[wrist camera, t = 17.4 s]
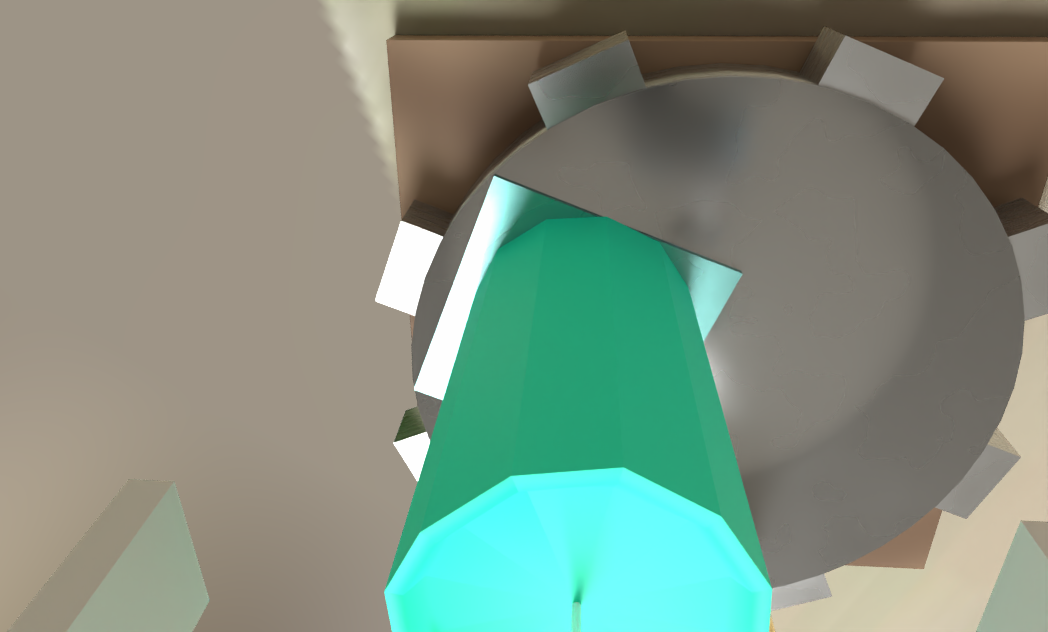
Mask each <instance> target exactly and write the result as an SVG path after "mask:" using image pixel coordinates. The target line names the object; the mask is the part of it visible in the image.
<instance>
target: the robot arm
mask: <svg viewBox="0 0 1048 632" xmlns="http://www.w3.org/2000/svg"><path fill="white" fill-rule="evenodd" d="M208 602H209V597H208V594H207V590H206V587H205V584H204V580H203V577H202V574H201V570H200V567H199V563H198V560H197V556H196V553H195V550H194V547H193V543H192V540H191V536H190V533H189V529H188V526H187V523H186V520H185V516H184V512H183V509H182V506H181V502H180V499H179V495H178V492H177V489H176V485H175V482H174V481H158V480H157V481H156V480H137V479H129V480H128V481H127V482H126V484H125V485H124V486H123V487H122V489H121V490H120V491H119V492H118V494H117V495H116V496H115V497H114V498H113V500H112V501H111V502H110V503H109V505H108V506H107V507H106V508H105V510H104V511H103V512H102V513H101V515H100V516H99V517H98V518H97V520H96V521H95V522H94V523H93V525H92V526H91V527H90V528H89V530H88V531H87V532H86V533H85V535H84V536H83V537H82V538H81V540H80V541H79V542H78V544H77V545H76V546H75V547H74V548H73V550H72V551H71V552H70V554H69V555H68V556H67V557H66V558H65V560H64V561H63V562H62V563H61V565H60V566H59V567H58V568H57V570H56V571H55V572H54V574H53V575H52V576H51V577H50V578H49V580H48V581H47V583H45V585H44V586H43V587H42V588H41V590H40V591H39V592H38V594H37V595H36V596H35V597H34V599H33V600H32V601H31V602H30V604H29V605H28V606H27V607H26V609H25V610H24V611H23V612H22V614H21V615H20V616H19V617H18V619H17V620H16V621H15V622H14V624H13V625H12V626H11V627H10V629H9V630H8V631H7V632H193V630H194V628H195V626H196V624H197V622H198V620H199V619H200V617H201V615H202V613H203V611H204V610H205V607H206V606H207V604H208ZM976 632H1048V522H1040V521H1021V522H1020V524H1019V527H1018V529H1017V532H1016V534H1015V537H1014V539H1013V541H1012V544H1011V546H1010V549H1009V551H1008V554H1007V556H1006V559H1005V561H1004V564H1003V566H1002V569H1001V571H1000V574H999V576H998V579H997V581H996V584H995V586H994V588H993V591H992V593H991V596H990V598H989V601H988V603H987V606H986V608H985V611H984V613H983V616H982V618H981V621H980V623H979V626H978V628H977V631H976Z"/></svg>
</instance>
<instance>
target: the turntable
mask: <svg viewBox="0 0 1048 632" xmlns="http://www.w3.org/2000/svg"><path fill="white" fill-rule="evenodd" d="M943 80H944V78H942V77H940V76H938V75H936V74H933V73H931V72H929V71H926V70H924V69H922V68H919V67H917V66H915V65H913V64H910V63H908V62H906V61H903V60H901V59H899V58H896V57H894V56H892V55H890V54H887V53H885V52H883V51H880V50H878V49H876V48H873V47H871V46H869V45H867V44H864V43H862V42H860V41H857V40H855V39H853V38H850V37H848V36H846V35H844V34H841V33H839V32H837V31H834V30H832V29H830V28H827V27H825V26H824V27H823V29H822V31H821V32H820V34H819V36H818V38H817V40H816V42H815V44H814V45H813V47H812V49H811V51H810V53H809V55H808V57H807V58H806V60H805V62H804V64H803V66H802V68H801V70H800V71H799V72H796V71H791V70H786V69H780V68H775V67H770V66H765V65H749V64H729V63H715V64H703V65H691V66H679V67H673V68H668V69H664V70H659V71H654V72H650V73H645V74H641V72H640V69H639V66H638V63H637V61H636V58H635V55H634V52H633V50H632V47H631V44H630V42H629V39H628V36H627V33H626V31H622V32H620V33H618V34H616V35H613V36H611V37H609V38H607V39H605V40H602V41H600V42H598V43H596V44H593V45H591V46H589V47H587V48H585V49H582V50H580V51H578V52H576V53H573V54H571V55H569V56H567V57H565V58H562V59H560V60H558V61H556V62H553V63H551V64H549V65H547V66H545V67H542V68H540V69H538V70H536V71H534V72H532V75H531V78H530V80H529V83H528V86H529V89H530V91H531V93H532V96H533V98H534V100H535V103H536V105H537V107H538V109H539V112H540V114H541V116H542V120H541V121H539V122H538V123H536V124H535V125H534V126H532V127H531V128H529V129H528V130H526V131H525V132H523V133H522V134H521V135H520V136H519V137H518V138H517V139H516V140H515V141H514V142H512V143H511V144H510V145H509V146H508V147H507V148H506V149H505V150H504V151H503V152H501V153H500V154H499V155H498V156H497V157H496V158H495V159H494V160H493V161H492V162H491V164H490V165H489V166H488V167H487V168H486V170H485V171H484V172H483V173H482V174H481V176H480V177H479V178H478V179H477V180H476V182H475V183H474V184H473V185H472V186H471V188H470V189H469V191H468V192H467V194H466V196H465V197H464V199H463V200H462V202H461V204H460V205H459V207H458V208H457V210H456V212H455V213H454V214H452V213H449V212H446V211H444V210H441V209H439V208H436V207H433V206H431V205H428V204H426V203H423V202H420V201H418V200H415V199H414V201H413V202H412V204H411V206H410V207H409V209H408V210H407V212H406V214H405V215H404V217H403V218H402V220H401V222H400V225H399V229H398V232H397V235H396V238H395V241H394V244H393V247H392V250H391V253H390V257H389V259H388V263H387V266H386V269H385V272H384V275H383V278H382V281H381V284H380V288H379V290H378V293H377V296H376V300H375V301H376V302H379V303H382V304H385V305H387V306H390V307H393V308H395V309H398V310H401V311H403V312H406V313H409V314H412V315H414V316H415V320H414V328H413V337H412V371H413V382H414V387H415V388H414V390H415V393H416V398H417V404H418V406H417V407H414V408H411V409H409V410H406V411H405V414H404V416H403V419H402V422H401V425H400V427H399V430H398V433H397V435H396V438H395V441H394V445H395V446H396V448H397V449H398V451H399V453H400V454H401V456H402V457H403V459H404V460H405V462H406V464H407V465H408V467H409V469H410V470H411V472H412V473H413V475H414V477H415V478H416V480H417V481H418V479H419V476H420V473H421V469H422V466H423V463H424V460H425V456H426V453H427V450H428V446H429V443H430V440H431V437H432V433H433V430H434V427H435V423H436V420H437V417H438V414H439V410H440V407H441V404H442V400H443V397H444V394H445V391H446V387H447V384H448V381H449V377H450V374H451V371H452V367H453V364H454V361H455V358H456V354H457V351H458V348H459V344H460V341H461V338H462V335H463V331H464V328H465V325H466V321H467V318H468V315H469V312H470V308H471V305H472V302H473V298H474V295H475V293H476V291H477V289H478V287H479V286H480V284H481V282H482V280H483V278H484V276H485V274H486V272H487V270H488V268H489V266H490V264H491V262H492V260H493V258H494V256H495V254H496V252H497V250H498V249H499V248H501V247H502V246H504V245H505V244H507V243H509V242H510V241H512V240H514V239H515V238H517V237H518V236H520V235H522V234H523V233H525V232H527V231H528V230H530V229H531V228H533V227H535V226H536V225H538V224H540V223H541V222H543V221H544V220H546V219H562V218H584V217H606V216H607V217H609V218H611V219H613V220H615V221H617V222H619V223H621V224H623V225H625V226H627V227H629V228H631V229H633V230H635V231H637V232H639V233H641V234H643V235H645V236H647V237H650V238H652V239H654V240H656V241H658V242H660V244H661V246H662V247H663V249H664V250H665V252H666V253H667V255H668V257H669V258H670V260H671V261H672V263H673V264H674V266H675V268H676V269H677V271H678V272H679V274H680V275H681V277H682V279H683V280H684V282H685V283H686V285H687V286H688V288H689V291H690V295H691V299H692V302H693V306H694V309H695V313H696V317H697V320H698V324H699V327H700V331H701V335H702V338H703V342H704V345H705V349H706V353H707V356H708V360H709V363H710V367H711V371H712V374H713V378H714V381H715V385H716V389H717V392H718V396H719V399H720V403H721V407H722V410H723V414H724V417H725V421H726V425H727V428H728V432H729V435H730V439H731V442H732V446H733V450H734V453H735V457H736V460H737V464H738V468H739V471H740V475H741V478H742V482H743V486H744V489H745V493H746V496H747V500H748V504H749V507H750V511H751V514H752V518H753V522H754V525H755V529H756V532H757V536H758V540H759V543H760V547H761V550H762V554H763V558H764V561H765V565H766V568H767V572H768V576H769V579H770V583H771V586H772V598H771V611H773V610H777V609H781V608H785V607H790V606H794V605H798V604H802V603H806V602H811V601H815V600H819V599H823V598H827V597H831V596H832V595H831V592H830V589H829V586H828V584H827V581H826V578H825V575H824V573H826V572H829V571H831V570H834V569H836V568H839V567H841V566H844V565H846V564H849V563H851V562H853V561H855V560H857V559H859V558H860V557H862V556H864V555H866V554H868V553H870V552H872V551H874V550H876V549H878V548H880V547H881V546H883V545H884V544H886V543H888V542H889V541H891V540H892V539H894V538H895V537H897V536H898V535H900V534H901V533H903V532H904V531H906V530H907V529H909V528H910V527H912V526H913V525H914V524H915V523H916V522H918V521H919V520H920V519H921V518H922V517H924V516H925V515H926V514H927V513H928V512H930V511H931V510H932V509H933V508H934V507H935V508H938V509H941V510H943V511H946V512H949V513H951V514H954V515H957V516H960V517H962V518H965V519H967V518H968V516H969V515H970V514H971V513H972V512H973V511H974V510H975V509H976V507H977V506H978V505H979V504H980V503H981V502H982V501H983V499H984V498H985V497H986V496H987V495H988V494H989V493H990V492H991V490H992V489H993V488H994V487H995V486H996V485H997V484H998V483H999V481H1000V480H1001V479H1002V478H1003V477H1004V476H1005V475H1006V473H1007V472H1008V471H1009V470H1010V469H1011V468H1012V467H1013V466H1014V464H1015V463H1016V462H1017V461H1018V460H1019V459H1020V458H1021V457H1020V455H1019V454H1018V453H1017V452H1016V450H1015V449H1014V448H1013V447H1012V445H1011V444H1010V443H1009V442H1008V441H1007V439H1006V438H1005V437H1004V436H1003V434H1002V433H1001V432H1000V431H999V429H998V428H997V426H998V425H999V423H1000V421H1001V419H1002V417H1003V414H1004V411H1005V409H1006V406H1007V404H1008V401H1009V399H1010V396H1011V394H1012V391H1013V389H1014V385H1015V381H1016V377H1017V373H1018V368H1019V364H1020V360H1021V355H1022V347H1023V333H1024V321H1025V320H1029V319H1032V318H1035V317H1038V316H1042V315H1045V314H1048V213H1046V212H1044V211H1043V210H1041V209H1040V208H1038V207H1037V206H1035V205H1033V204H1032V203H1030V202H1029V201H1027V200H1025V199H1024V198H1019V199H1016V200H1013V201H1010V202H1007V203H1004V204H1001V205H998V206H995V207H993V206H992V205H991V203H990V202H989V200H988V199H987V197H986V196H985V195H984V193H983V192H982V190H981V189H980V187H979V186H978V185H977V183H976V182H975V180H974V179H973V177H972V176H971V175H970V174H969V173H968V172H967V171H966V170H965V169H964V168H963V167H962V166H961V165H960V164H959V163H958V162H957V161H956V160H955V159H954V158H953V157H952V156H951V155H950V154H949V153H948V152H947V151H946V150H945V149H944V148H943V147H941V146H940V145H939V144H937V143H936V142H935V141H933V140H932V139H930V138H929V137H928V136H926V135H925V134H924V133H922V132H921V131H920V130H918V129H917V128H915V127H914V126H915V124H916V123H917V121H918V120H919V118H920V116H921V115H922V113H923V112H924V110H925V109H926V107H927V105H928V104H929V102H930V101H931V99H932V97H933V96H934V94H935V93H936V91H937V89H938V88H939V86H940V85H941V83H942V82H943ZM769 632H775V629H774V625H773V621H772V618H771V614H770V625H769Z"/></svg>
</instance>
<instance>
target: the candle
mask: <svg viewBox="0 0 1048 632" xmlns="http://www.w3.org/2000/svg"><path fill="white" fill-rule="evenodd" d="M384 592H385V598H386V603H387V608H388V613H389V618H390V624H391V629H392V632H769V625H770V612H771V598H772V586H771V583H770V579H769V576H768V572H767V568H766V565H765V561H764V558H763V554H762V550H761V547H760V543H759V540H758V536H757V532H756V529H755V525H754V522H753V518H752V514H751V511H750V507H749V504H748V500H747V496H746V493H745V489H744V486H743V482H742V478H741V475H740V471H739V468H738V464H737V460H736V457H735V453H734V450H733V446H732V442H731V439H730V435H729V432H728V428H727V425H726V421H725V417H724V414H723V410H722V407H721V403H720V399H719V396H718V392H717V389H716V385H715V381H714V378H713V374H712V371H711V367H710V363H709V360H708V356H707V353H706V349H705V345H704V342H703V338H702V335H701V331H700V327H699V324H698V320H697V317H696V313H695V309H694V306H693V302H692V299H691V295H690V291H689V288H688V286H687V285H686V283H685V282H684V280H683V279H682V277H681V275H680V274H679V272H678V271H677V269H676V268H675V266H674V264H673V263H672V261H671V260H670V258H669V257H668V255H667V253H666V252H665V250H664V249H663V247H662V246H661V244H660V242H658V241H656V240H654V239H652V238H650V237H647V236H645V235H643V234H641V233H639V232H637V231H635V230H633V229H631V228H629V227H627V226H625V225H623V224H621V223H619V222H617V221H615V220H613V219H611V218H609V217H607V216H606V217H584V218H562V219H546V220H544V221H543V222H541V223H540V224H538V225H536V226H535V227H533V228H531V229H530V230H528V231H527V232H525V233H523V234H522V235H520V236H518V237H517V238H515V239H514V240H512V241H510V242H509V243H507V244H505V245H504V246H502V247H501V248H499V249H498V250H497V252H496V254H495V256H494V258H493V260H492V262H491V264H490V266H489V268H488V270H487V272H486V274H485V276H484V278H483V280H482V282H481V284H480V286H479V287H478V289H477V291H476V293H475V295H474V298H473V302H472V305H471V308H470V312H469V315H468V318H467V321H466V325H465V328H464V331H463V335H462V338H461V341H460V344H459V348H458V351H457V354H456V358H455V361H454V364H453V367H452V371H451V374H450V377H449V381H448V384H447V387H446V391H445V394H444V397H443V400H442V404H441V407H440V410H439V414H438V417H437V420H436V423H435V427H434V430H433V433H432V437H431V440H430V443H429V446H428V450H427V453H426V456H425V460H424V463H423V466H422V469H421V473H420V476H419V479H418V483H417V486H416V489H415V493H414V496H413V499H412V502H411V506H410V509H409V512H408V515H407V519H406V522H405V525H404V529H403V532H402V536H401V538H400V542H399V545H398V548H397V552H396V555H395V558H394V562H393V565H392V568H391V572H390V575H389V578H388V581H387V585H386V588H385V591H384Z"/></svg>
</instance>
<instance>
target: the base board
mask: <svg viewBox="0 0 1048 632" xmlns="http://www.w3.org/2000/svg"><path fill="white" fill-rule="evenodd" d="M609 37H611V36H452V35H395V36H393V37H391V38H389V39H388V40H386V41H387V53H388V65H389V77H390V88H391V100H392V112H393V124H394V135H395V147H396V159H397V171H398V183H399V194H400V206H401V218H403V217H404V215H405V214H406V212H407V210H408V209H409V207H410V206H411V204H412V202H413V201H414V199H415V200H418V201H420V202H423V203H426V204H428V205H431V206H433V207H436V208H439V209H441V210H444V211H446V212H449V213H452V214H454V213H455V212H456V210H457V208H458V207H459V205H460V204H461V202H462V200H463V199H464V197H465V196H466V194H467V192H468V191H469V189H470V188H471V186H472V185H473V184H474V183H475V182H476V180H477V179H478V178H479V177H480V176H481V174H482V173H483V172H484V171H485V170H486V168H487V167H488V166H489V165H490V164H491V162H492V161H493V160H494V159H495V158H496V157H497V156H498V155H499V154H500V153H501V152H503V151H504V150H505V149H506V148H507V147H508V146H509V145H510V144H511V143H512V142H514V141H515V140H516V139H517V138H518V137H519V136H520V135H521V134H522V133H523V132H525V131H526V130H528V129H529V128H531V127H532V126H534V125H535V124H536V123H538V122H539V121H541V120H542V116H541V114H540V112H539V109H538V107H537V105H536V103H535V100H534V98H533V96H532V93H531V91H530V89H529V86H528V83H529V80H530V78H531V75H532V72H534V71H536V70H538V69H540V68H542V67H545V66H547V65H549V64H551V63H553V62H556V61H558V60H560V59H562V58H565V57H567V56H569V55H571V54H573V53H576V52H578V51H580V50H582V49H585V48H587V47H589V46H591V45H593V44H596V43H598V42H600V41H602V40H605V39H607V38H609ZM848 37H850V38H853V39H855V40H857V41H860V42H862V43H864V44H867V45H869V46H871V47H873V48H876V49H878V50H880V51H883V52H885V53H887V54H890V55H892V56H894V57H896V58H899V59H901V60H903V61H906V62H908V63H910V64H913V65H915V66H917V67H919V68H922V69H924V70H926V71H929V72H931V73H933V74H936V75H938V76H940V77H942V78H944V80H943V82H942V83H941V85H940V86H939V88H938V89H937V91H936V93H935V94H934V96H933V97H932V99H931V101H930V102H929V104H928V105H927V107H926V109H925V110H924V112H923V113H922V115H921V116H920V118H919V120H918V121H917V123H916V124H915V126H914V127H915V128H917V129H918V130H920V131H921V132H922V133H924V134H925V135H926V136H928V137H929V138H930V139H932V140H933V141H935V142H936V143H937V144H939V145H940V146H941V147H943V148H944V149H945V150H946V151H947V152H948V153H949V154H950V155H951V156H952V157H953V158H954V159H955V160H956V161H957V162H958V163H959V164H960V165H961V166H962V167H963V168H964V169H965V170H966V171H967V172H968V173H969V174H970V175H971V176H972V177H973V179H974V180H975V182H976V183H977V185H978V186H979V187H980V189H981V190H982V192H983V193H984V195H985V196H986V197H987V199H988V200H989V202H990V203H991V205H992V206H993V207H995V206H998V205H1001V204H1004V203H1007V202H1010V201H1013V200H1016V199H1019V198H1024V199H1025V200H1027V201H1029V202H1030V203H1032V204H1033V205H1035V206H1037V207H1038V205H1039V202H1040V199H1041V196H1042V193H1043V190H1044V186H1045V183H1046V180H1047V177H1048V37H900V36H848ZM817 38H818V36H628V39H629V42H630V44H631V47H632V50H633V52H634V55H635V58H636V61H637V63H638V66H639V69H640V72H641V74H645V73H650V72H654V71H659V70H664V69H668V68H673V67H679V66H691V65H703V64H715V63H729V64H749V65H765V66H770V67H775V68H780V69H786V70H791V71H796V72H799V71H800V70H801V68H802V66H803V64H804V62H805V60H806V58H807V57H808V55H809V53H810V51H811V49H812V47H813V45H814V44H815V42H816V40H817ZM414 320H415V316H414V315H412V314H410V323H411V334H412V337H413V328H414ZM417 405H418V404H417ZM941 512H942V510H941V509H938V508H935V507H934V508H933V509H932V510H931V511H930V512H928V513H927V514H926V515H925V516H924V517H922V518H921V519H920V520H919V521H918V522H916V523H915V524H914V525H913V526H912V527H910V528H909V529H907V530H906V531H904V532H903V533H901V534H900V535H898V536H897V537H895V538H894V539H892V540H891V541H889V542H888V543H886V544H884V545H883V546H881V547H880V548H878V549H876V550H874V551H872V552H870V553H868V554H866V555H864V556H862V557H860V558H859V559H857V560H855V561H853V562H851V563H849V564H846V565H852V566H873V567H893V568H913V569H924V566H925V563H926V560H927V557H928V554H929V550H930V547H931V544H932V541H933V538H934V535H935V531H936V528H937V525H938V522H939V519H940V516H941Z"/></svg>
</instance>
